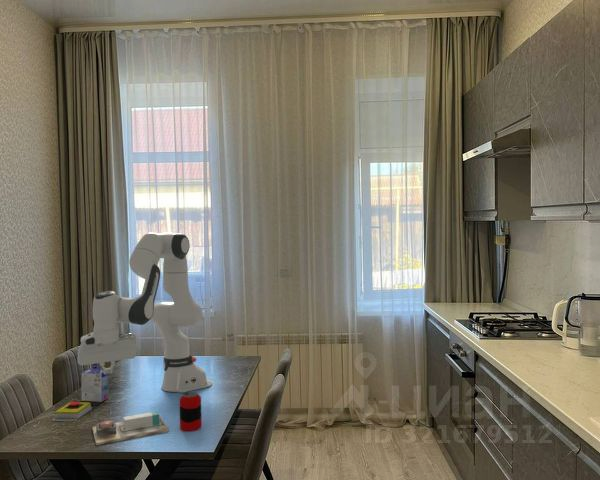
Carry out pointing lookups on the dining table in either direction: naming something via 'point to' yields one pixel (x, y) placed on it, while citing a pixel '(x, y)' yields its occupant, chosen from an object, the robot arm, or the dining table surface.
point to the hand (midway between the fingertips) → (108, 373)
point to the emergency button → (72, 411)
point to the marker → (141, 420)
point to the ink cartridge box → (94, 385)
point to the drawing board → (125, 432)
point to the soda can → (190, 412)
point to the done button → (105, 424)
